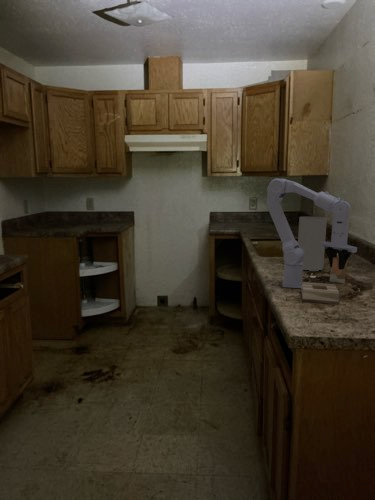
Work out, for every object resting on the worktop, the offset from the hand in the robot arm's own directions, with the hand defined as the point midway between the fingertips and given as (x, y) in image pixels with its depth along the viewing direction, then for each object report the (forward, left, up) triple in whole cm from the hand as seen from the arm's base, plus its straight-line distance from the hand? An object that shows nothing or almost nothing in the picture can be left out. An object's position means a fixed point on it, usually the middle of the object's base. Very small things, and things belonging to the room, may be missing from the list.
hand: (336, 268), depth 147 cm
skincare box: (-17, +3, -10) cm, 19 cm away
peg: (0, 0, -2) cm, 2 cm away
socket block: (+10, -7, -9) cm, 16 cm away
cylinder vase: (-39, -7, -10) cm, 40 cm away
